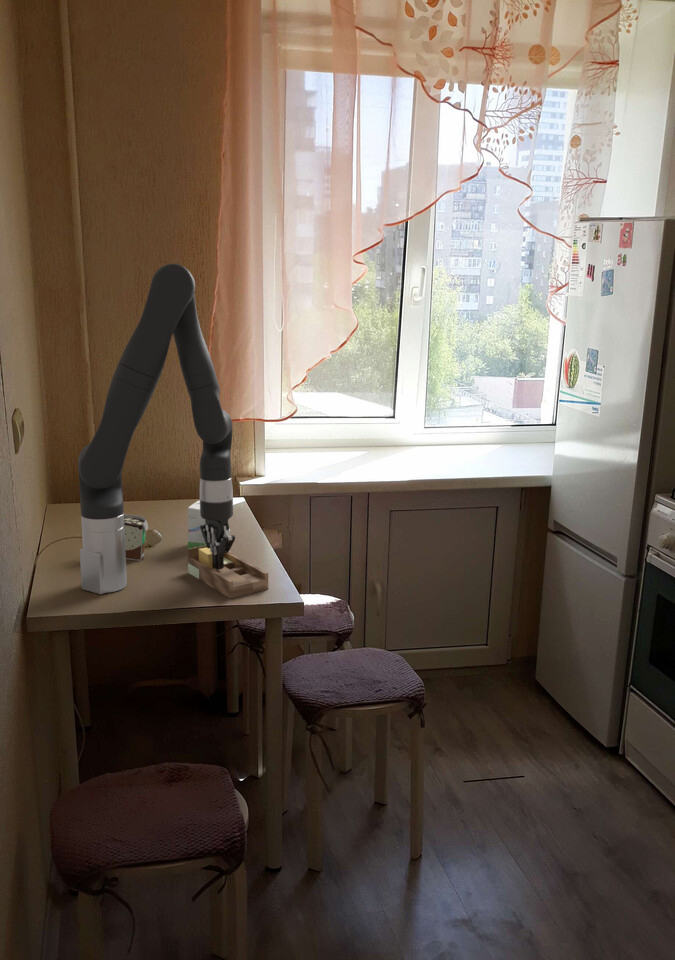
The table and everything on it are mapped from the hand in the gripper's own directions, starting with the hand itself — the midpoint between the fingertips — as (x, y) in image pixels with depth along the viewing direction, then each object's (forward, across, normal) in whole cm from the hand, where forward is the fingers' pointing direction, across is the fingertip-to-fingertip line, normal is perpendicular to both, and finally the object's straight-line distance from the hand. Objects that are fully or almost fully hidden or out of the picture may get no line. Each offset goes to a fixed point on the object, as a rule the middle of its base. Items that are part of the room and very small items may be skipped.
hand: (218, 568), depth 194 cm
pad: (+3, +6, -1) cm, 7 cm away
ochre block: (0, +5, -1) cm, 5 cm away
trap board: (+3, -1, -2) cm, 4 cm away
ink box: (+3, +24, -8) cm, 26 cm away
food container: (+3, +28, +10) cm, 30 cm away
